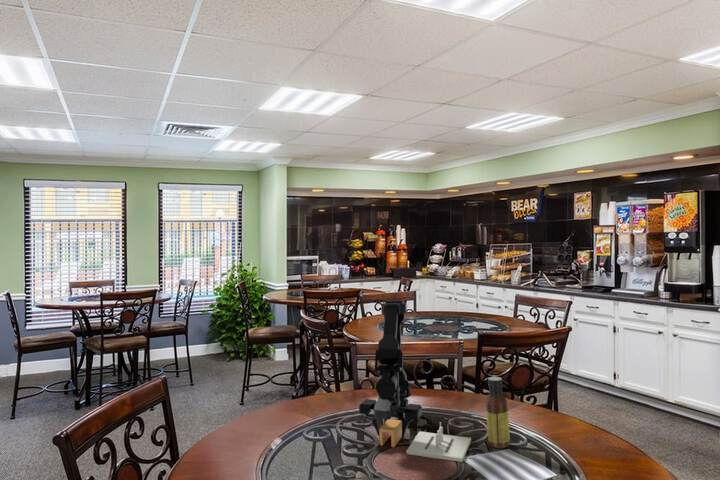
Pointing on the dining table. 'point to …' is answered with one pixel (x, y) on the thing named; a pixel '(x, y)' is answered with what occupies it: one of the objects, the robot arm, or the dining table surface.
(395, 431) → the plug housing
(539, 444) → the dining table surface
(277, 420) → the dining table surface
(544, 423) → the dining table surface
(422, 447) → the board
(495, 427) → the sauce bottle
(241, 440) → the dining table surface
